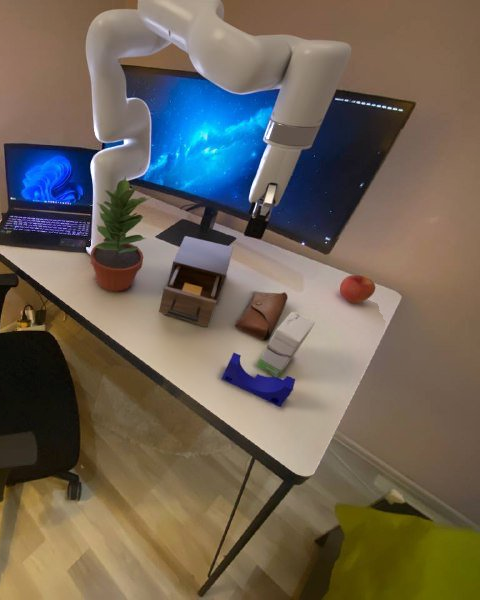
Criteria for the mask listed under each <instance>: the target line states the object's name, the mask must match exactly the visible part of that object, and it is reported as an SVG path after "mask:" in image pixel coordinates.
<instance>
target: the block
mask: <svg viewBox="0 0 480 600" xmlns="http://www.w3.org/2000/svg"><path fill="white" fill-rule="evenodd" d="M182 291H185V292H188V293H192V294H195V295H199V296H200V294H201V291H202V287H199V286H196V285H192V284H189V283H185V284H184V286H183V289H182Z"/></svg>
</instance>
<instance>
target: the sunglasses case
mask: <svg viewBox="0 0 480 600" xmlns="http://www.w3.org/2000/svg"><path fill="white" fill-rule="evenodd" d="M287 300H288V294H287V292H286V291H285V292H280V293H279V292H257V291H254V292H253V294H252V297H251V299H250V301H249V302H248V305H247V306H246V308H245V309H244V311H243V313H242V314H241V316H240V317H239V318H238V319H237V321H236V323H235V324H234V326H235V327H236V328H237V330H240V331H242V332H243V333H245V334H247V335H249V336H251V337H253V338H255V339H257V340H259V341H261V342H263V341H264V342H265V341H266V342H267V341H270V340H271V338H272V336H273V334H274V332H275V331H274V330H276V327H277V325H278V322H279V320H280V317H281V315H282V313H283V311H284V310H285V309H284V308H285V306H286V304H287Z"/></svg>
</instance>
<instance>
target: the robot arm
mask: <svg viewBox="0 0 480 600" xmlns="http://www.w3.org/2000/svg"><path fill="white" fill-rule="evenodd" d="M224 18H225V7H224V3H223V2H222V0H137V9H134V8H116V9H109V10H106V11H103V12H101V13H99V14H98V15H96V17H95V18H94V19H93V20H92V22H91V23H90V25H89V27H88V30H87V33H86V38H85V57H86V61H87V63H86V64H87V68H88V72H89V77H90V84H91V101H92V118H93V120H92V121H93V130H94V134H95V138H96V139H97V140H98V141H99V142H101V143H104V144H110V143H117V142H121V141H123V144H121V145H116V146H112V147H108V148H107V147H106V148H104V149H102V150H100V151H98V152H97V153H95V154H94V155H93V157H92V159H91V162H90V174H91V179H92V181H91V182H92V215H91V216H92V217H91V238H90V240H91V246H90V247H86V246H85V250H86V253H88V255H89V256H91V251H92V249H93V248H94V247H95V246H96V245H97V244H100V243H103V242H104V239H105V237H104V236H103V235H102V234H101V233H100V232H99V231H98V230H97V228H98V227H97V225H98V226H104V227H106V226H105V224H104V221H103V220H102V219H101V217H100V216H101V214H100V212H101V213H102V214H105V213H104V212H103V211H102V210H101V208H100V206H99V205H98V204H102V205H104V206H105V207H106V208H107V209H109V210H110V207H108V206H107V205H106V204H104V203H103V202H104V201H107V202H109V203H111V197H110V196H109V195H108V194H107V193H106V192H105V191H106V190H107V191H109V192H111V193H112V194H113V193H114V190H115V191H116V189H117V185H118V183H119V182H120V181H122V180H124V178H125V176H126V180H127V181H128V182H129V181H132V180H134V179H137V178H140V177H142V176H144V175H145V174H146V173H147V172H148V170H149V167H150V164H151V153H152V152H151V151H152V150H151V148H152V117H151V112H150V109H149V107H148V105H147V103H146V102H145V101H144V100H143V99H141V98H138V97H130V98H129V97H127V80H126V79H127V78H126V74H125V71H124V70H123V67H122V65H121V63H120V62H119V61H118V60H120V59H123V58H136V57H147V56H151V55H154V54H156V53H158V52H161V51H162V50H163V49H165V48H167V47H168V46H169V45H171V44H172V45H174V46H175V47H177V48H179V49H180V50H182V51H184V52H185V53H186V54H188V56H189V60H190V62H191V64H192V66H193V68H194V69H195V70H196V71H197V73H198V74H200V75H201V76H202V77H203V78H205V79H206V80H208V81H210V82H211V83H212V84H214V85H215V86H218V87H219V88H221V89H222V90H224V91H226V92H229V93H231V94H236V95H248V94H254V93H259V92H265V91H273V90H279V92H278V95H277V98H276V100H275V104H274V106H273V109H272V112H271V115H270V117H269V120H268V123H267V126H266V130H265V133H264V135H263V138H262V140H263V141H262V142H264V143H265V144H267V145H266V148H265V149H264V152H263V155H262V157H261V160H260V162H259V165H258V169H257V171H256V174H255V177H254V179H253V182H252V185H251V187H250V192H249V196H248V201H249V203H250V207H249V210H248V214H249V215H250V216H249V218H248V221H247V224H246V226H245V229H244V232H243V236H244V237H247V238H251V239H257V240H262V238H263V236H264V234H265V232H266V229H267V228H268V224H269V222H270V217H271V214H272V212H273V209H274V208H275V207H277V206H278V205H279V204H280V201H281V199H282V197H283V196H284V193H285V191H286V188H287V187H288V183H289V182H290V179H291V177H292V175H293V173H294V170H295V168H296V165H297V163H298V161H299V158H300V156H301V153H302V150H309V149H310V148H312V146H313V144H314V141H315V139H316V137H317V134H318V133H319V131H320V129H321V127H322V126H321V125H322V124H323V121H324V119H325V116H326V114H327V112H328V109H329V107H330V105H331V103H332V100H333V98H334V96H335V94H336V91H337V89H338V88H339V84H340V83H341V81H342V77H343V75H344V73H345V71H346V68H347V67H348V64H349V61H350V58H351V56H352V47H351V45H350V44H349V43H347V42H344V41H341V40H340V41H338V40H328V39H306V38H303V37H298V36H295V35H292V34H285V33H283V34H282V33H281V34H261V35H252V34H249V33H247V32H245V31H243V30H241V29H239V28H237V27H235V26H233V25H231V24H229V23H228V22H226V21H225V19H224ZM96 202H97V203H98V204H97V203H96Z"/></svg>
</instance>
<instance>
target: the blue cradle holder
mask: <svg viewBox="0 0 480 600" xmlns="http://www.w3.org/2000/svg"><path fill="white" fill-rule="evenodd" d="M241 356H242V355H241V354H239V353H237V352H233V353H232V355H231V356H230V358H229V361H228V363H227V365H226V367H225V370H224V372H223V374H222V376H221V380H223V381H224V382H227V383H229V384H231V385H233V386H235V387H237V388H239V389H241V390H244V391H245V392H247V393H250V394H252V395H254V396H256V397H258V398H260V399H261V400H265V401H267V402H269V403H271V404H273V405H275V406H277V407H279V408H281V407H282V405H283V404H284V403H285V402H286V400H287V399H288V397H289V396H290V395H291V393H292V392H293V391H294V386H295V384H296V378H294V377H292V376H290V375H286V376H285V377H284V378H283V379H282V378H280V377H279V376H278V377H275V376H267V375H266V376H265V375H261V374H260V373H257V374H256V376H253V375H250V374H249V373H248V372H246V370H245V369H244V368H243V366H242V364H241Z"/></svg>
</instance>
